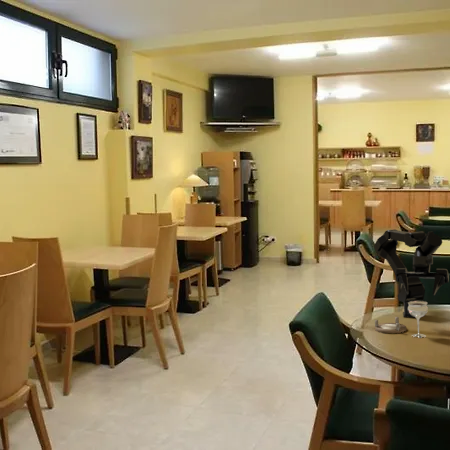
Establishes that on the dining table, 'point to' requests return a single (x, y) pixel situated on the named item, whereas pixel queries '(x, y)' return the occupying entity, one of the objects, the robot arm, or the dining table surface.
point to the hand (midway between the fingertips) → (420, 294)
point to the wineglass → (418, 312)
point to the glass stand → (390, 327)
